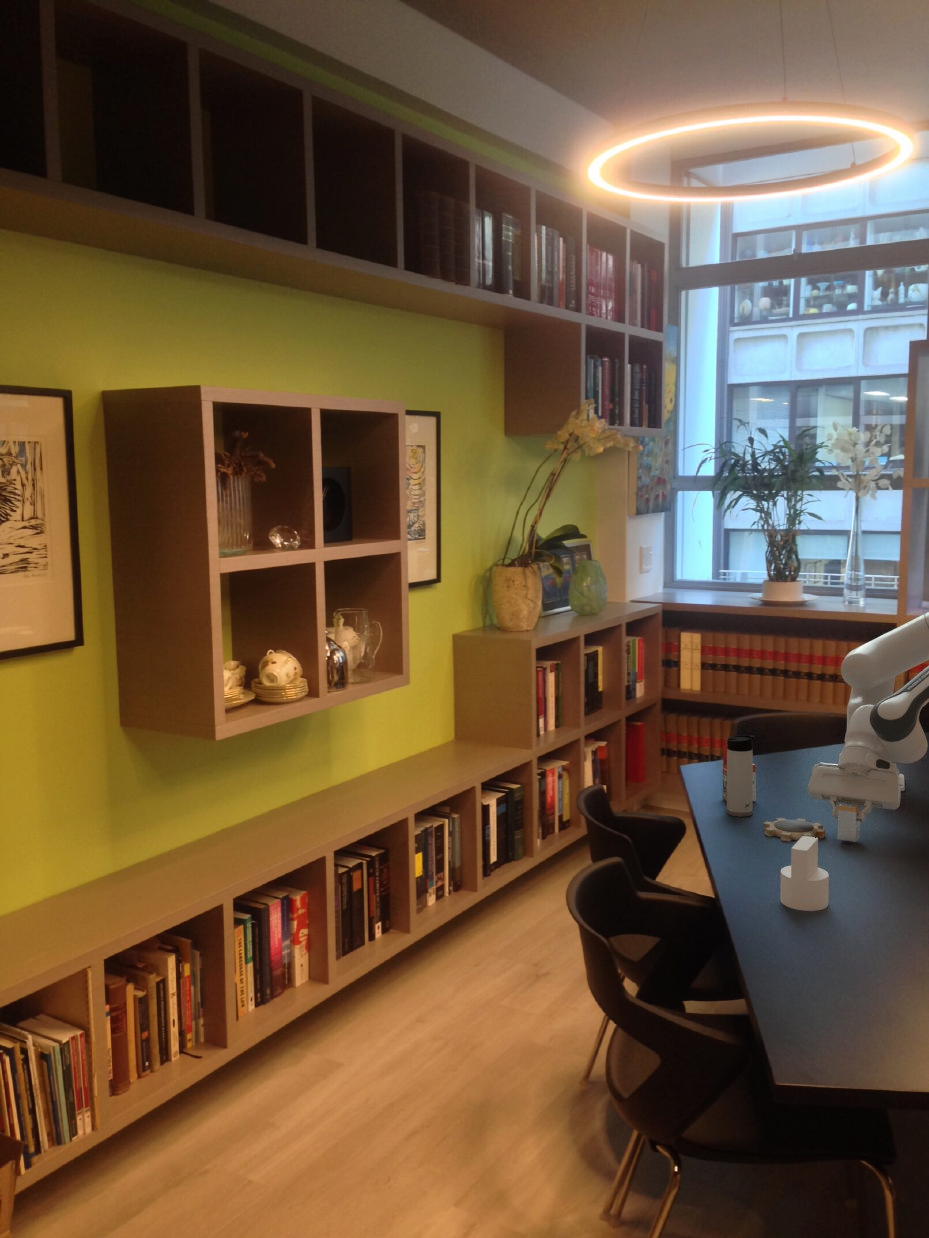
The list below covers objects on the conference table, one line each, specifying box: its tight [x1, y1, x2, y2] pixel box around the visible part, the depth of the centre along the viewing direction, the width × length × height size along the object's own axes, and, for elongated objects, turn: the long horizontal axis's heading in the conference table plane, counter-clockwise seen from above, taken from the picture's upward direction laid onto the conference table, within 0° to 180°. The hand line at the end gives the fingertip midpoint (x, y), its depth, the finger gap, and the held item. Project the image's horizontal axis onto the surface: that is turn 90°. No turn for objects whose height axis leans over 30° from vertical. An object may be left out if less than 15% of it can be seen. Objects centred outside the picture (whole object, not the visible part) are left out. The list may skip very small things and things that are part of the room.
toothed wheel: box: [762, 817, 826, 843], centre depth 251 cm, size 14×14×2 cm
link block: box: [837, 801, 862, 843], centre depth 243 cm, size 4×4×8 cm
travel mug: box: [726, 734, 755, 818], centre depth 266 cm, size 6×7×20 cm
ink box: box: [722, 745, 757, 803], centre depth 278 cm, size 4×8×15 cm, turn 98°
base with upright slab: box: [779, 836, 830, 912], centre depth 208 cm, size 9×9×12 cm
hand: (847, 818), depth 241 cm, fingers closed on link block, 4 cm apart
